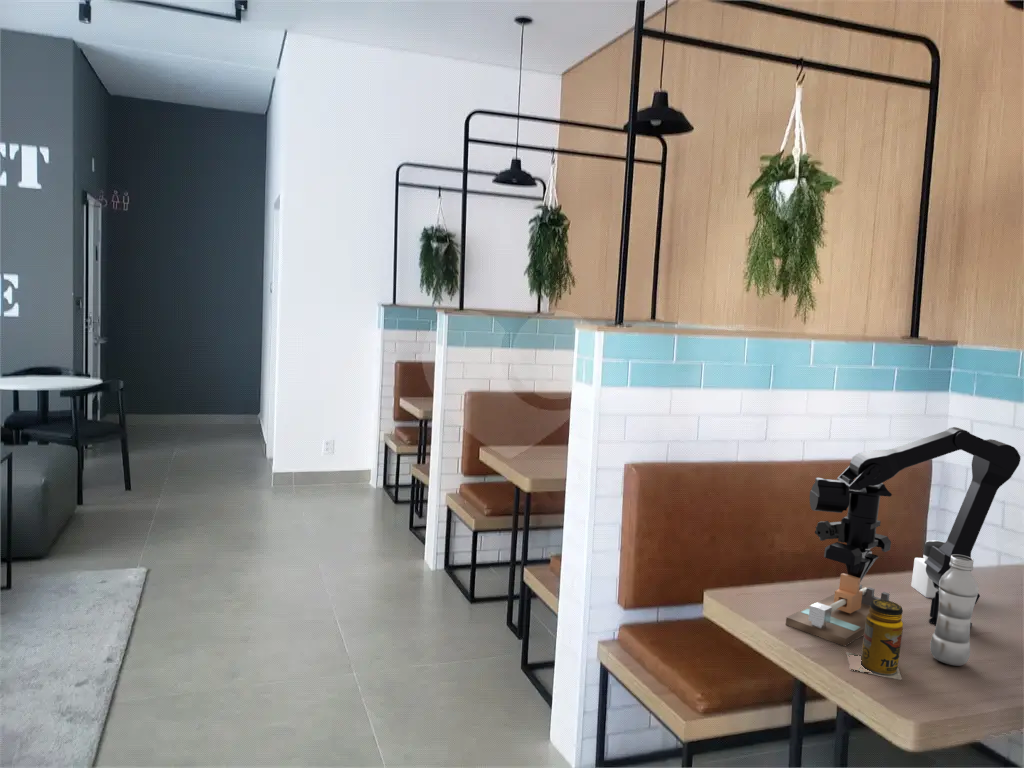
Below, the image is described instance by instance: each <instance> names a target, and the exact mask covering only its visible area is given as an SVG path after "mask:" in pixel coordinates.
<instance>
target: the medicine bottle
mask: <svg viewBox="0 0 1024 768" xmlns="http://www.w3.org/2000/svg"><path fill="white" fill-rule="evenodd" d="M945 543H946V541H943V540H937V539H936V540H935V539H934V540H933V539H932V540H931V539H930V540H927V541H925V542H924V548H923V557H914V561H913V570H912V577H911V583H910V586H911V588H913V589H914V590H916V591H917V592H918V593H920V594H921V595H922V596H923V597H925V598H926V599H927V598H929V599H932V598H934V597H935V593H936V592H937V591H939V590H938V589H937V588H935V587H934V586H933V582H932V580H931V579H930V578H929V577H928V575H927V573H926V565H927V564H925V563H924V562H925V561H926V560H927V558H928V557H929V554H930V549H931V547H932V546H934V547H936V548H938V549H939V548H940V547H941V546H942V545H943V544H945Z"/></svg>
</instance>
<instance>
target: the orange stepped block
mask: <svg viewBox="0 0 1024 768" xmlns="http://www.w3.org/2000/svg"><path fill="white" fill-rule="evenodd" d="M839 577H840V578H839V579H840V580H839V585H838V588H837V589H836V590H834V594H835V596H834V603H835V602H837V601H839V600H841V599H843V598H845V599H847V604H845V605H843V606H841V607H839V608H837V609H838V610H841V611H844V612H847V613H852V612H854V611H856V610H858V609H860V608H861V601H862V593H863V591H860V590H859V588H860V585H861V582H860V580H861V578H858V577H855V576H851V575H848V573H844V572H843V573H840V576H839Z"/></svg>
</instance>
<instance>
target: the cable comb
mask: <svg viewBox="0 0 1024 768" xmlns="http://www.w3.org/2000/svg"><path fill="white" fill-rule="evenodd" d="M866 588H867V589H866V594H864V595H862V601H861V603H863V604H866V605H869V606H870V603H871V601H873V600H877V599H882V600H887V601H890V593H888V592H885V591H883V592H881V595H880V597H877V596H875V588H873V587H870V586H868V587H866ZM861 589H863V585H862V584H860V588H859V590H861Z"/></svg>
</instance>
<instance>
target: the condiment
mask: <svg viewBox="0 0 1024 768" xmlns="http://www.w3.org/2000/svg"><path fill="white" fill-rule="evenodd" d="M903 612H904V611H903V608H902V605H900V604H899V603H897V602H893V601H890V600H889V601H887V600H882V599H877V600H873V601H871V603H870V609H869V614H868V615H867V616H866V623H865V631H864V635H863V638H862V639H863V640H862V650H861V654H856V653H853V652H848V651H846V652H845V654H846V656H847V655H848V656H849V655H854V656H858V655H859V656H861V655H862V656H861V660H862V661H861V665H862V666H863V667H864V668H865V669H867V670H869V671H871V672H872V673H869V675H874V676H878V677H884V678H888V679H894V680H899V681H900V680H903V678H902V675H901V673H900V670H899V668H898V667H899V661H900V652H901V647H902V637H903V629H904V623H903V620H902V619H903ZM849 657H850V656H849ZM847 660H848V658H847ZM860 668H861V667H860ZM860 668H859V669H858V670H859V671H860V673H864V672H865V671H863V670H860ZM853 669H854V668H853ZM849 671H852V670H851V669H850V668H849ZM854 671H855V670H854ZM855 672H856V671H855ZM873 673H874V674H873ZM893 677H894V678H893Z"/></svg>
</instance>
